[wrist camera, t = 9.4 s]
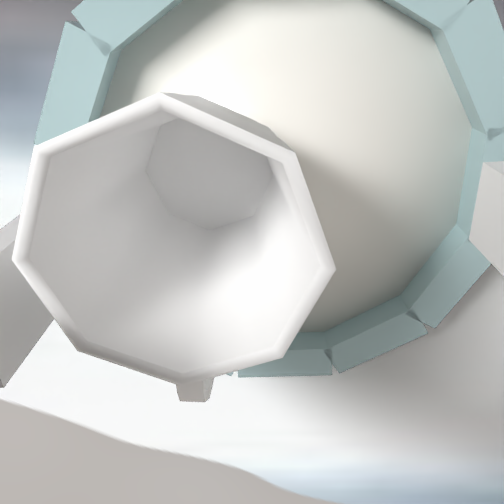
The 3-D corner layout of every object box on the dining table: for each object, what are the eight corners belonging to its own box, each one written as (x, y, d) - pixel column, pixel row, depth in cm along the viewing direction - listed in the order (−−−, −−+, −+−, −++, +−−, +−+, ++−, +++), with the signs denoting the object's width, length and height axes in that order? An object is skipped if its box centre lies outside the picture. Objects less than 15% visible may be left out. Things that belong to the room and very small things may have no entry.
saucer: (153, -206, 12) (135, -244, 11) (601, 80, 16) (644, 87, 14) (21, 260, 20) (-4, 283, 18) (345, 392, 23) (351, 424, 21)
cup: (314, 62, 15) (357, 96, 8) (296, 307, 19) (312, 471, 12) (108, 58, 15) (-38, 88, 8) (138, 302, 20) (64, 462, 12)
